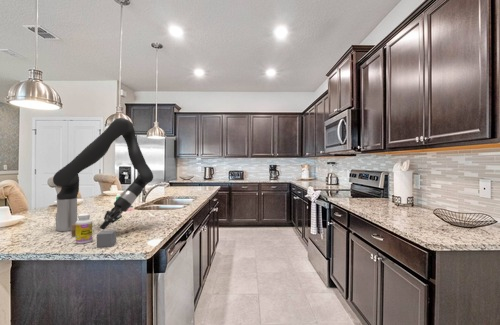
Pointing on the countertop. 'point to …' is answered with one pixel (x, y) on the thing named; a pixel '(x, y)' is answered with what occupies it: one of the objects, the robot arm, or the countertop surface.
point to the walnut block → (74, 230)
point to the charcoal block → (106, 238)
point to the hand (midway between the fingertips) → (101, 228)
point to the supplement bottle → (83, 229)
